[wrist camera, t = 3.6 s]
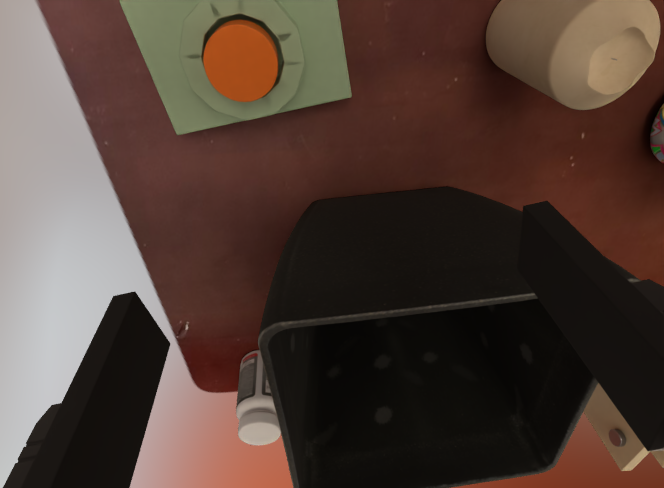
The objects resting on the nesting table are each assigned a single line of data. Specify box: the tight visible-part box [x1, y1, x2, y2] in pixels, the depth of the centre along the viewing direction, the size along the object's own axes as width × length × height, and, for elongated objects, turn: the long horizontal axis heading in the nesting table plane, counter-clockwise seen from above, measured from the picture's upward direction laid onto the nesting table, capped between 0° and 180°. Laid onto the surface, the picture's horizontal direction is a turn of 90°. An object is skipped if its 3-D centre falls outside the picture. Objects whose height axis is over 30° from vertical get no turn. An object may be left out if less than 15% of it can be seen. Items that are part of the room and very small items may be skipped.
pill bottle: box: [236, 350, 281, 445], centre depth 42 cm, size 5×5×8 cm
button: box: [203, 20, 278, 102], centre depth 23 cm, size 4×4×2 cm
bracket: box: [583, 383, 664, 471], centre depth 41 cm, size 11×9×15 cm
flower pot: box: [258, 187, 641, 488], centre depth 31 cm, size 19×19×17 cm
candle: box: [486, 0, 660, 110], centre depth 24 cm, size 6×6×10 cm
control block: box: [120, 0, 352, 135], centre depth 25 cm, size 12×8×4 cm, turn 101°
